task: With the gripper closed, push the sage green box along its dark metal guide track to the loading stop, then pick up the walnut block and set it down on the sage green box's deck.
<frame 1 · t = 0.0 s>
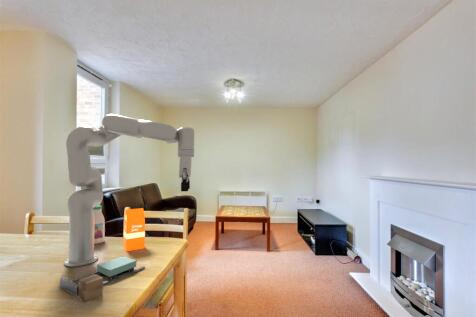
hand: (185, 190, 116), 31 cm above the table, tool pointing down, fingers open, 9 cm apart
block: (90, 297, 80), on the table
milk bottle: (96, 242, 137), on the table
orange juice: (133, 247, 128), on the table
track: (107, 276, 95), on the table
sage green box: (117, 267, 98), point 2 cm above the table, slide at 0.0 cm
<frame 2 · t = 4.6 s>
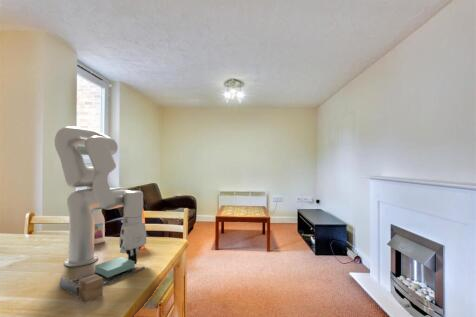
hand: (132, 263, 104), 1 cm above the table, tool pointing down, fingers closed
sage green box: (115, 268, 98), point 2 cm above the table, slide at 0.8 cm, touching gripper
everything else where it was.
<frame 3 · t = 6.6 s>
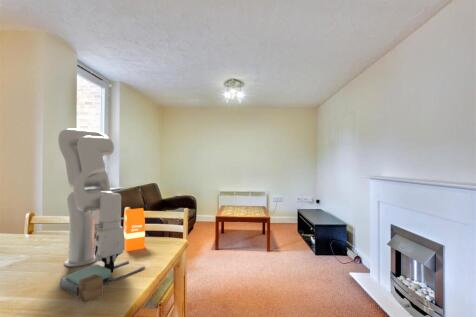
hand: (109, 272, 96), 1 cm above the table, tool pointing down, fingers closed
sage green box: (88, 277, 89), point 2 cm above the table, slide at 10.7 cm, touching gripper, track
everything else where it was.
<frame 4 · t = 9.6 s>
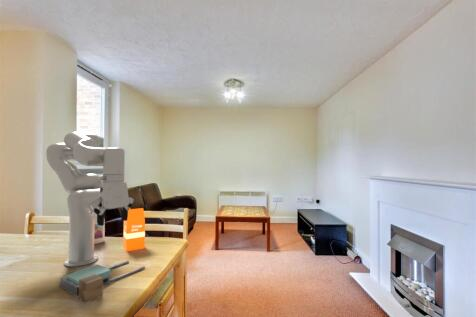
hand: (113, 222, 97), 20 cm above the table, tool pointing down, fingers open, 9 cm apart
sage green box: (88, 277, 89), point 2 cm above the table, slide at 10.7 cm
everything else where it was.
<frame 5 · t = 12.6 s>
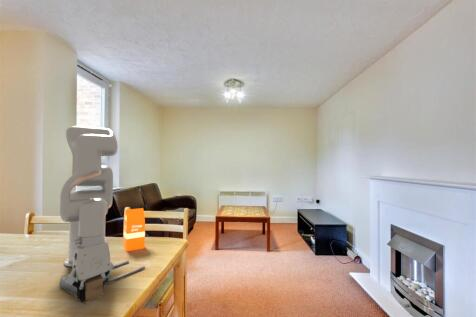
hand: (90, 295, 80), 0 cm above the table, tool pointing down, fingers closed on block, 5 cm apart
block: (90, 297, 80), on the table, touching gripper
everything else where it was.
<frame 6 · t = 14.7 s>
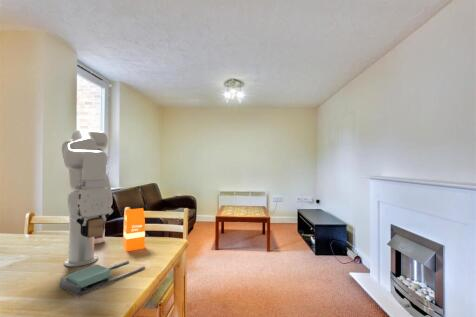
hand: (92, 233, 91), 18 cm above the table, tool pointing down, fingers closed on block, 5 cm apart
block: (92, 234, 91), point 17 cm above the table, touching gripper
everything else where it was.
when the fingers open (6 cm above the table, at t = 17.1 s): block drops 1 cm, resting on sage green box.
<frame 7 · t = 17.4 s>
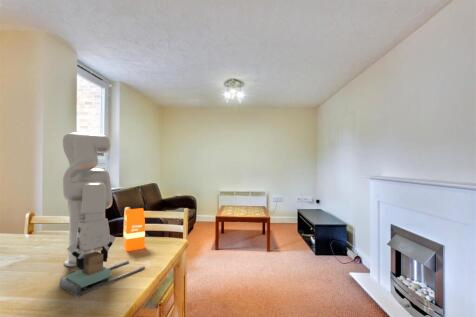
hand: (92, 264, 90), 6 cm above the table, tool pointing down, fingers open, 7 cm apart
block: (92, 271, 90), point 4 cm above the table, touching sage green box
sage green box: (88, 277, 89), point 2 cm above the table, slide at 10.7 cm, touching block
everything else where it was.
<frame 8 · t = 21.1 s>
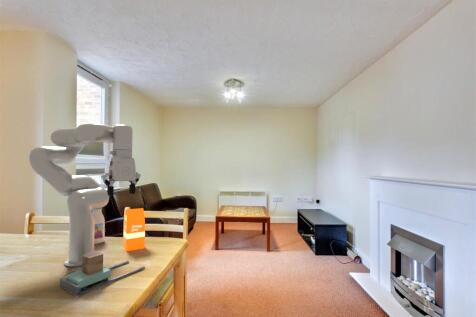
hand: (121, 194, 105), 30 cm above the table, tool pointing down, fingers open, 9 cm apart
nothing on the table moved.
at the end: sage green box slide at 10.7 cm; block inside the target area (0.0 cm from its centre), point 4.0 cm above the table; block tilted 0° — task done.
